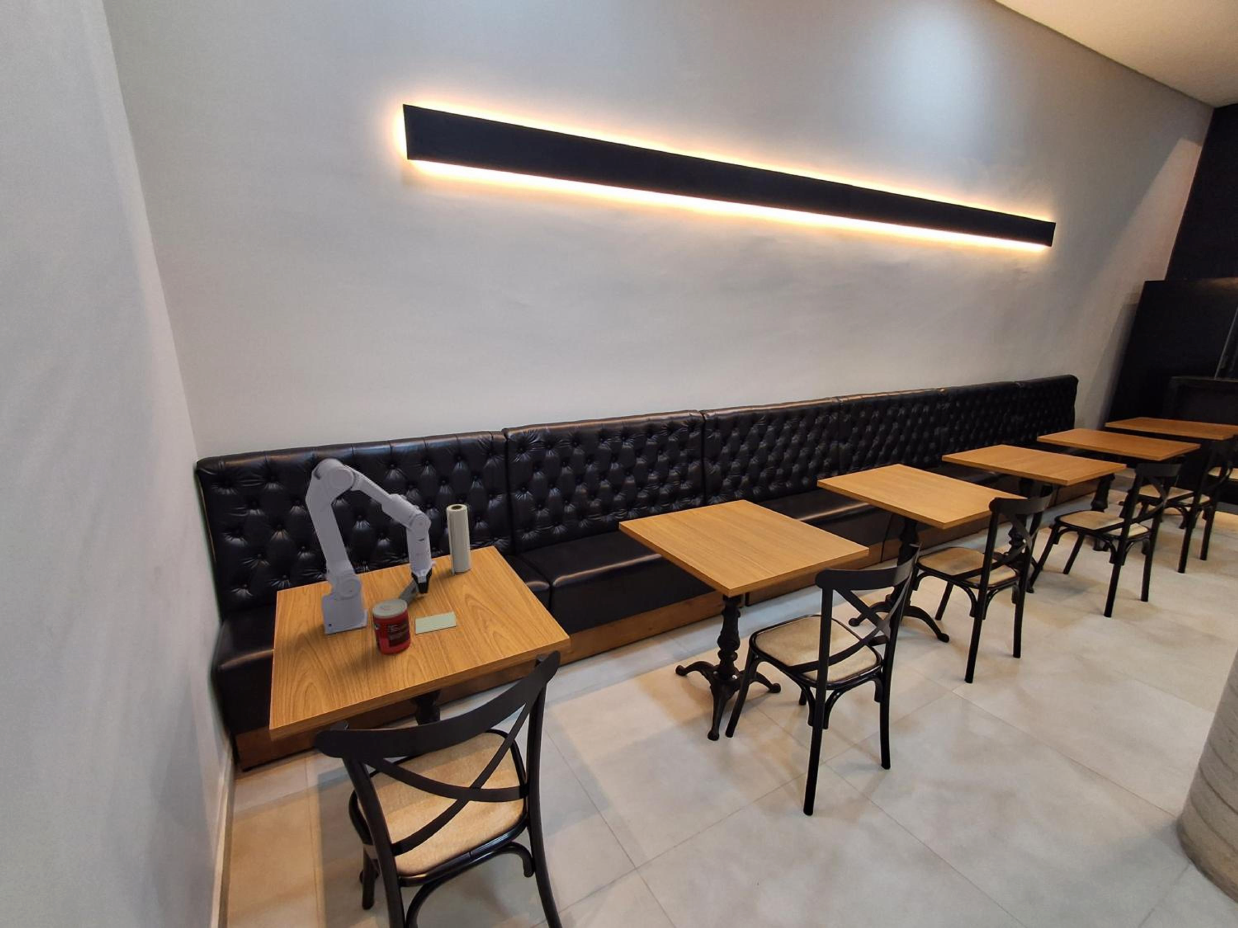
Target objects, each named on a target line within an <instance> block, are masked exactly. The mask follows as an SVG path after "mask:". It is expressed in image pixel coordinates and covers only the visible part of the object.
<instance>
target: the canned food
mask: <svg viewBox="0 0 1238 928" xmlns="http://www.w3.org/2000/svg"><path fill="white" fill-rule="evenodd" d="M371 616H372V617H371V618H372V623H373V629H374V637H375V642H376V643H375V644H376V649H377V650H378V652H379V653H380V654H382V655H385V656H386V655H387V656H391V655H393V656H394V655H398V654H400V653H403V652H404V651H406V650H407V649H408V648H409V647H410V645H411V642H412V636H411V627H410V619H409V618H410V617H409V609H408V605H407V603H406V602H405V601H403V600H401V599H397V598H390V599H386V600H383V601H381V602H378V603H376V604H375V605H374V606H373V607H372V609H371Z"/></svg>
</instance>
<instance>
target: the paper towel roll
mask: <svg viewBox="0 0 1238 928" xmlns="http://www.w3.org/2000/svg"><path fill="white" fill-rule="evenodd" d="M445 510H446V518H447V520H446V521H447V531H448V533H447V534H448V542H449V543H448V544H449V553H450V564H451V572H452V574H453V576H455V573H464V572H467V571H469V570H471V568H472V557H471V545H470V531H469V519H468V518H469V517H468V507H467V505H465V504H459V503H457V504H452V505H448V507H446V509H445Z"/></svg>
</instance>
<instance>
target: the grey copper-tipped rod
mask: <svg viewBox="0 0 1238 928" xmlns="http://www.w3.org/2000/svg"><path fill="white" fill-rule="evenodd" d="M418 593H419V590H418V586H417V584H416V582H415V580H414V579H413V578H412V580H411V582H410V583H409V584H408V585H407V586H406V587H405V589H404V590H403V591H402V592H401V593H400V595H399V596H397V598H396V599H401V600H403V601H405V602H406V603H407V606H408V605H409V604H411V603H410V602H412V600H413V599H414V597H416V595H417V594H418Z"/></svg>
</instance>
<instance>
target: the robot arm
mask: <svg viewBox="0 0 1238 928" xmlns="http://www.w3.org/2000/svg"><path fill="white" fill-rule="evenodd" d="M309 482H310V483H309V486H308V489H307V493H306V495H305V504H306V507H307V509H308V513H309V515H310V517H311V520H312V523H313V527H314V529H315V533H316V536H317V538H318V541H319V543H320V546H321V547H320V548H321V550H322V552H323V555H324V558H325V561H326V563H325V567H326V574H325V579H326V582H327V583H328V584H329V585H330V586H331V589H330V592H329V593H328V594H326V595H322V597H321V614H322V619H323V626H324V634H325V635H329V634H335V633H339V632H340V633H341V632H346V631H350V630H355V629H361V628H365V627H366V626H367V622H368V615H369V610H368V609H365V607H364V599H363V592H362V588H363V581H362V578H360V577H359V575H357V573H355V570H354V568H353V565H352V564H351V561H350V560H349V556H348V554H347V551H346V548H345V544H344V542H343V541H344V540H343V537H342V535H341V532H340V530H339V525H338V524H337V520H336V517H335V514H334V511H333V508H332V503H333V502H334V501H335V500H336V498H337V497H339V496H340V495H341V494H343V493H344V492H346V491H347V490H350V491H358V490H359V491H361V492H363V493H364V494H366V495H367V496H369V497H371V498H372V499H373V500H375V501H377V502H378V503H379V504H381V510H382V511H383V512H384V513H385V514H386V515H388V516H390V517H391V518H393V519H394V520H395V521H397V522H399V524H402V526H405V527H406V528H405V531H406V532H405V533H406V543H407V551H408V558H409V570H410V572H411V573H410V575H411V578H412V580H413V579H414V580H415V582H416V584H417V586H418V590H419V591H418V593H419V594H420V595H425V594H428V593H429V587H430V579H431V577H432V575H433V568H432V567H436V565H437V562H436V560H432V556H431V554H432V553H431V546H430V545H431V544H430V535H429V529H430V528H431V524H432V521H431V520H430V517H429V516H428V515H427V514H425V512H423V511H421V509H420V507H419V506H418V505H416V504H414V505H413V504H412V503H411V502H409V501H408V500H407V497H406V496H405V495H403V494H400V495H399V494H398V493H391V494H389V493H388V492H387V491H385V490H384V489H382V487H380V486H379V485H378V484H376V483H375V482H374V481H372V480H371V479H370V478H368V477H367V476H366V475H364V474H363V473H361V472H360V471H357V470H355V469H354V468H353V467H350V466H349V465H346V464H343V463H342V462H341V461H339V460H338V459H335V458H326V459H323V460H321V461H320V462H319V463H318V464H317V466H315V468H314V469H313V470H312V471H311V480H310V481H309Z"/></svg>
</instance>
